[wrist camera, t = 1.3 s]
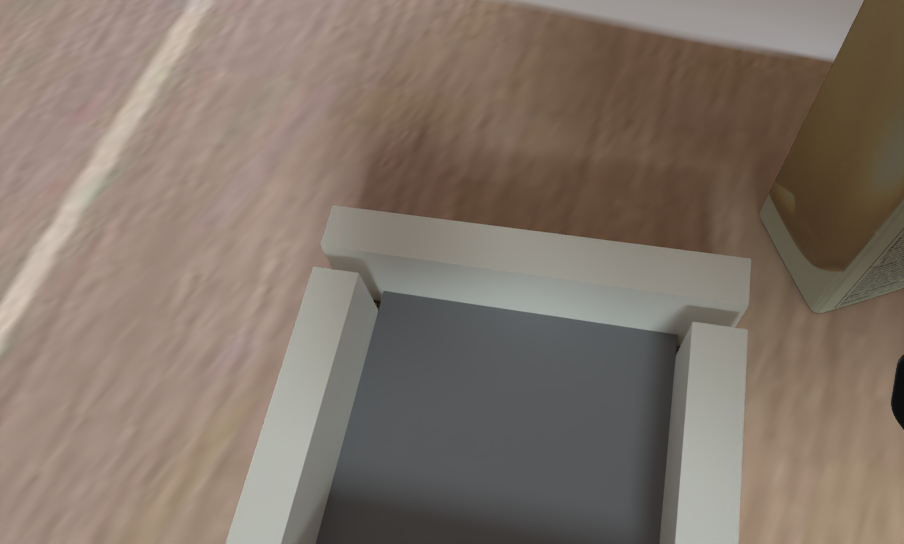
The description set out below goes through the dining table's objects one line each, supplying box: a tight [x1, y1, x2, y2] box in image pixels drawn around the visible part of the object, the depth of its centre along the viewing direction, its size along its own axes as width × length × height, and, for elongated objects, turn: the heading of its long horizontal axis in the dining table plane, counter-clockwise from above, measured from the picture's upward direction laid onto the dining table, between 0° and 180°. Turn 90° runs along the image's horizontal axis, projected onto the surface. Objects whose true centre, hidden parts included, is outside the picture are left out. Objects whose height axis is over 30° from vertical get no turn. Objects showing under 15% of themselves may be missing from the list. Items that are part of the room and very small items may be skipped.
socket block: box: [226, 205, 751, 544], centre depth 22 cm, size 13×13×4 cm
